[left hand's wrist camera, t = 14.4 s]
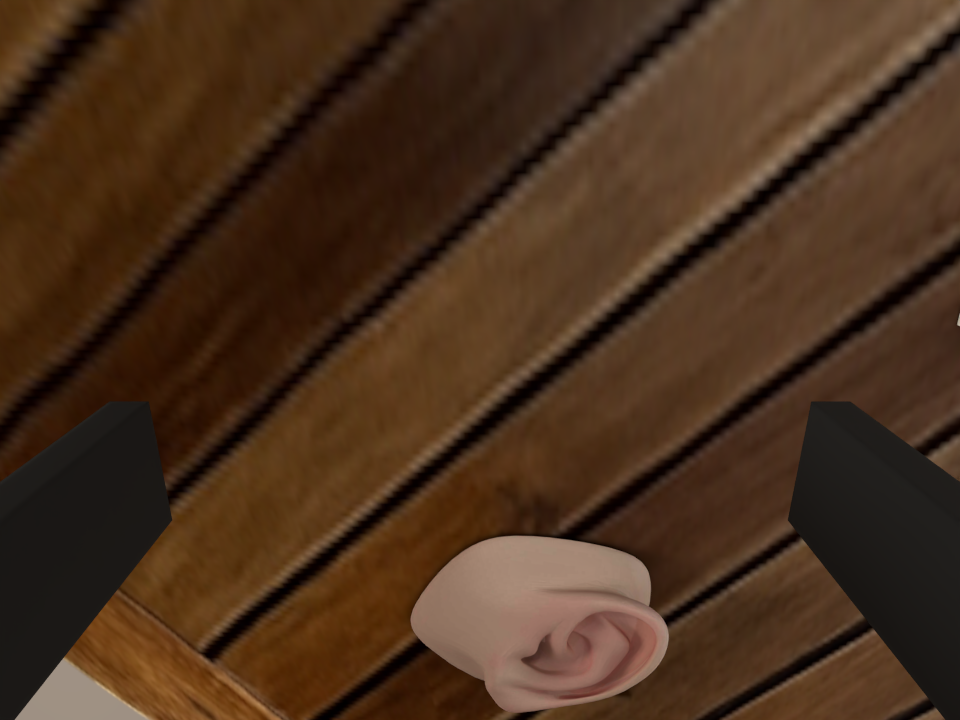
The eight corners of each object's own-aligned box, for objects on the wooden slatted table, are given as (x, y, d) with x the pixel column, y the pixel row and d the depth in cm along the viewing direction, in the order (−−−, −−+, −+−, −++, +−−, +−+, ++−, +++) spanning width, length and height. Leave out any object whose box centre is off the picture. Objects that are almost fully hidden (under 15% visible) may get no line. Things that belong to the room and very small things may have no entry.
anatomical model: (386, 712, 34) (451, 548, 30) (395, 654, 38) (454, 501, 34) (610, 766, 36) (699, 617, 32) (597, 705, 40) (676, 565, 36)
